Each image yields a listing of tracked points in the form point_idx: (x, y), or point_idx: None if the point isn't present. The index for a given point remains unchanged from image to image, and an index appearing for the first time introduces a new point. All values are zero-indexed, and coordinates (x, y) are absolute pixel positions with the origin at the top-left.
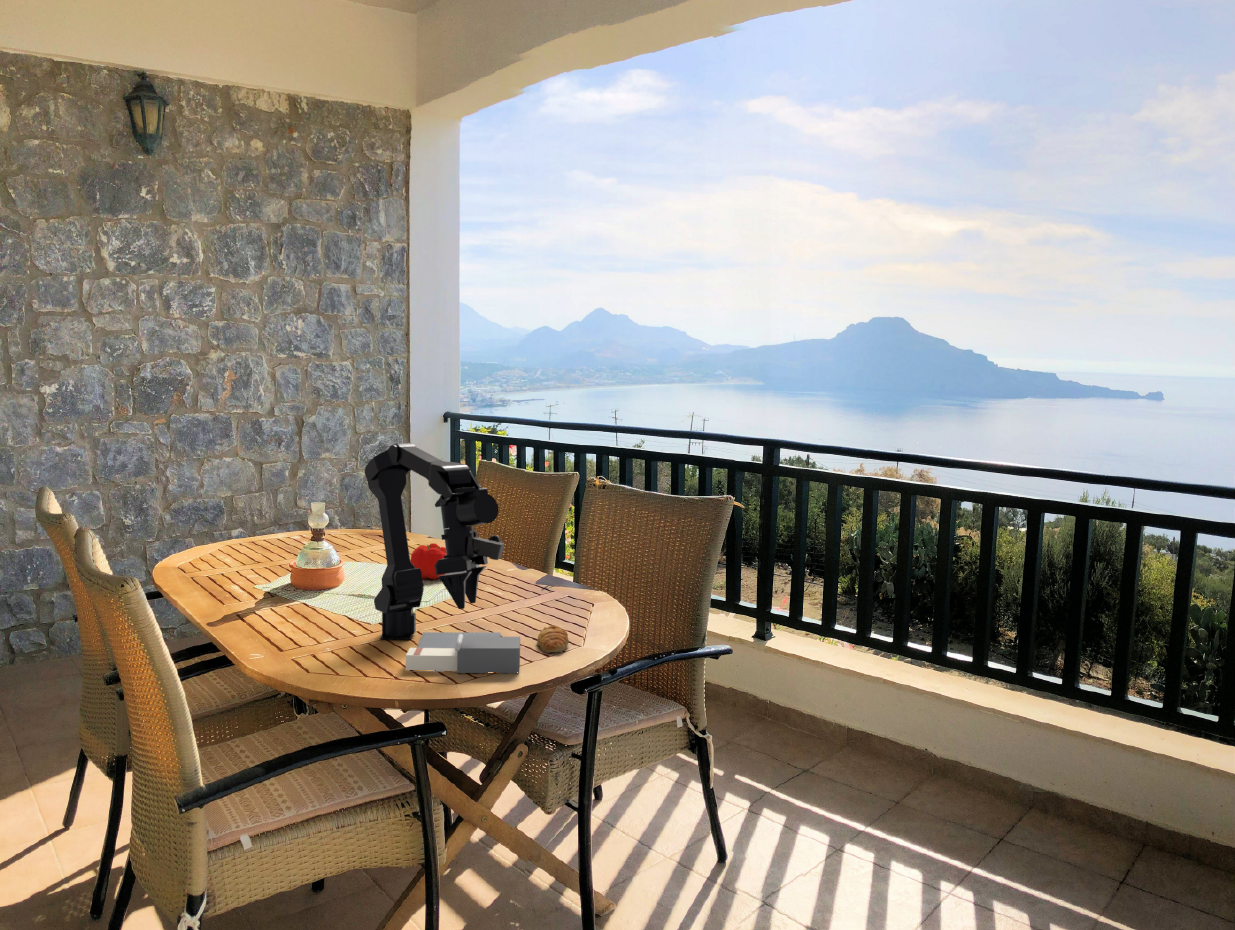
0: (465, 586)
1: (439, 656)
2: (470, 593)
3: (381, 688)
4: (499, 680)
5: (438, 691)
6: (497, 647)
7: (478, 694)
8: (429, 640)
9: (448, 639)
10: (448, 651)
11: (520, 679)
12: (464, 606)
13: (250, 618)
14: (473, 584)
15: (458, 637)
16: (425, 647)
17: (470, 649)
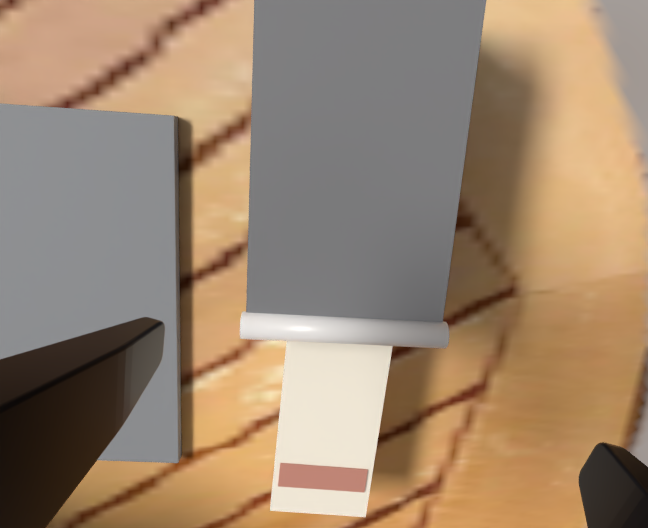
0: (28, 523)
1: (385, 390)
2: (103, 410)
3: (515, 522)
4: (510, 121)
5: (579, 351)
6: (454, 121)
7: (642, 210)
8: None
9: (6, 347)
10: (331, 358)
11: (514, 23)
12: (620, 452)
13: None
14: (3, 447)
15: (296, 339)
16: (122, 431)
17: (447, 269)
